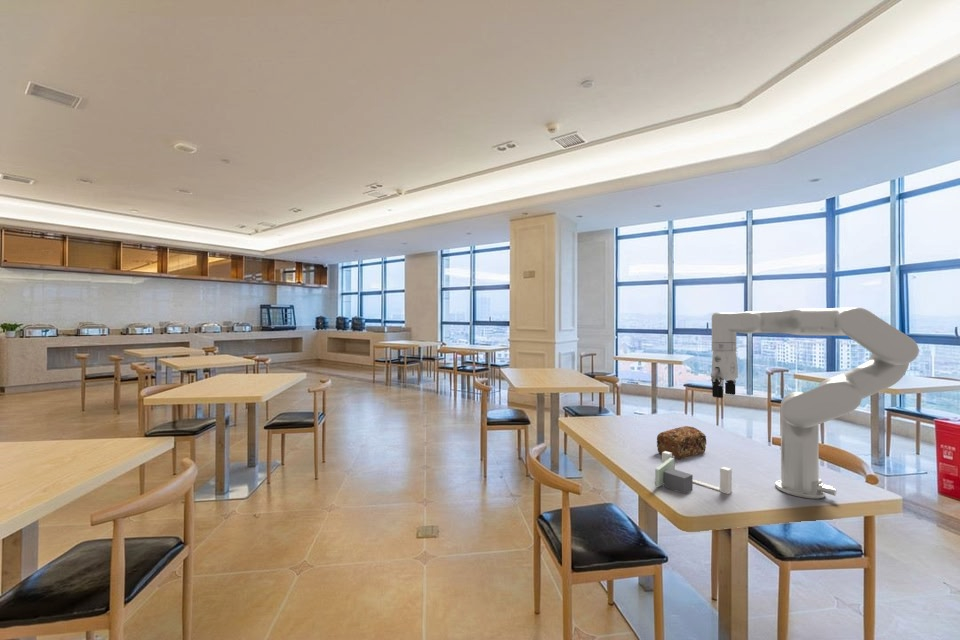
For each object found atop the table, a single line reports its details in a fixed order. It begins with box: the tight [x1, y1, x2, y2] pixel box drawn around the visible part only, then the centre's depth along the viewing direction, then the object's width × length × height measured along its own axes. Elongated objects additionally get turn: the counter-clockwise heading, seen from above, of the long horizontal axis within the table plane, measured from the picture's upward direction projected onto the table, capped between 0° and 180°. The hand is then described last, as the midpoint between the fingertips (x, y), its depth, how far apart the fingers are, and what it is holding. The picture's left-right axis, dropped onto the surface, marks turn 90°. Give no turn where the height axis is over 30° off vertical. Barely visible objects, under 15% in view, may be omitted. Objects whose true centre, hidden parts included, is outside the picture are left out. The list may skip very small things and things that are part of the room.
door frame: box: [661, 451, 733, 495], centre depth 138 cm, size 22×2×8 cm, turn 36°
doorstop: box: [663, 468, 694, 495], centre depth 133 cm, size 7×5×5 cm
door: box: [654, 456, 676, 488], centre depth 138 cm, size 16×1×6 cm, turn 138°
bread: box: [656, 425, 707, 460], centre depth 168 cm, size 19×11×10 cm, turn 118°
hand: (724, 395), depth 143 cm, fingers open, 9 cm apart
